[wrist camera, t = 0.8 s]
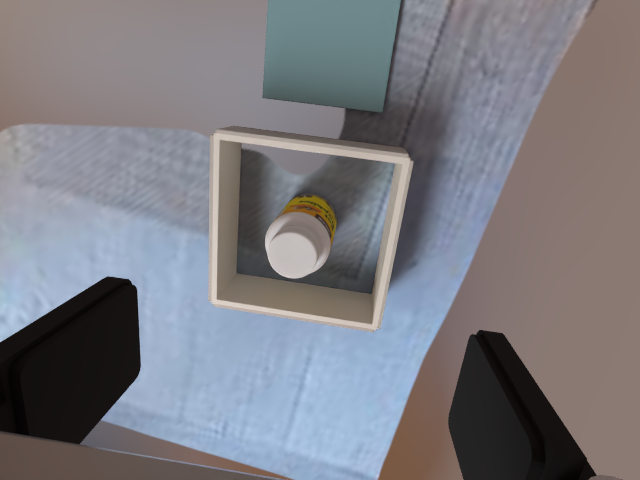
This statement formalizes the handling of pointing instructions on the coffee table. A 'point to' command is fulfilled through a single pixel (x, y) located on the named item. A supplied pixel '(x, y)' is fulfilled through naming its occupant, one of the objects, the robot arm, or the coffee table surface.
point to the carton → (287, 295)
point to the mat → (330, 51)
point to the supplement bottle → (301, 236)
